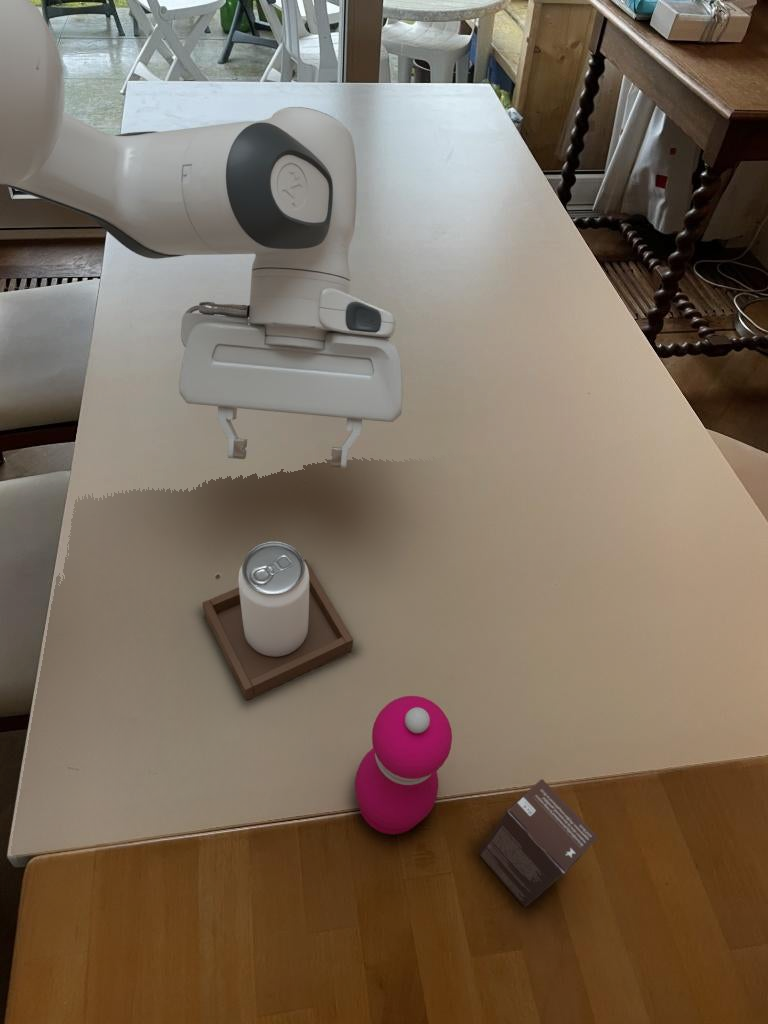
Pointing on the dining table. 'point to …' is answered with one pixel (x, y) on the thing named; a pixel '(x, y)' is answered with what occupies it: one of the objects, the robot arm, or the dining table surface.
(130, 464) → the dining table surface
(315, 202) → the robot arm
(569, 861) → the box
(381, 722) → the pepper mill
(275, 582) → the can
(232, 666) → the tray
